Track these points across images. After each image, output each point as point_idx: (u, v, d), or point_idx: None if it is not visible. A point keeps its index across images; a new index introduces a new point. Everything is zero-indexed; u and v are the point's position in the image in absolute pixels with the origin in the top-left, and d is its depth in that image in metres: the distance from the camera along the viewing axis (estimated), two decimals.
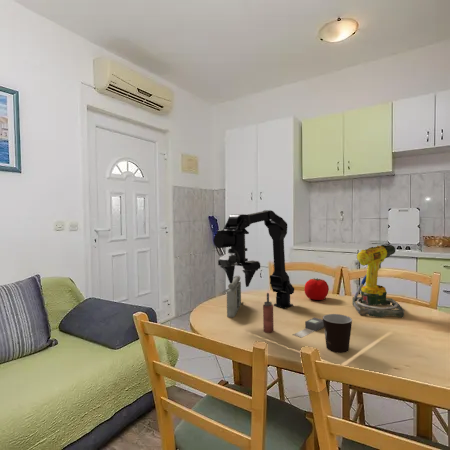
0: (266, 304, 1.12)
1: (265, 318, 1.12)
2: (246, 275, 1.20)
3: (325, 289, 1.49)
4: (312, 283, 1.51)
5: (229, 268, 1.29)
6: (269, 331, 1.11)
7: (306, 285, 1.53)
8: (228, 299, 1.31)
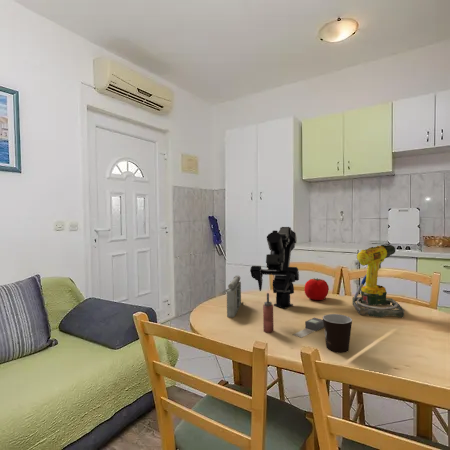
0: (266, 304, 1.12)
1: (265, 318, 1.12)
2: (287, 279, 1.20)
3: (325, 289, 1.49)
4: (312, 283, 1.51)
5: (261, 277, 1.25)
6: (269, 331, 1.11)
7: (306, 285, 1.53)
8: (228, 299, 1.31)
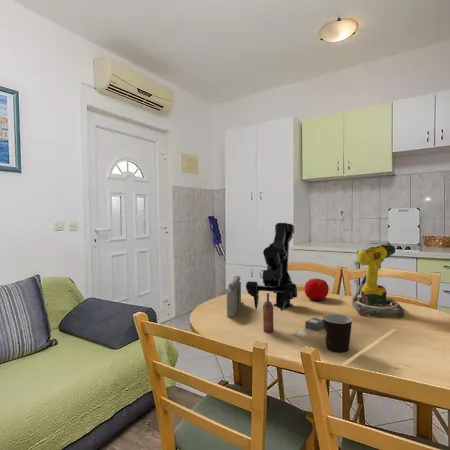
0: (266, 304, 1.12)
1: (265, 318, 1.12)
2: (285, 296, 1.14)
3: (325, 289, 1.49)
4: (312, 283, 1.51)
5: (257, 293, 1.19)
6: (269, 331, 1.11)
7: (306, 285, 1.53)
8: (228, 299, 1.31)
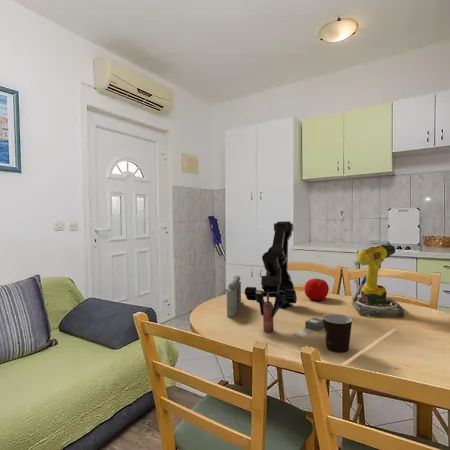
0: (266, 304, 1.12)
1: (265, 318, 1.12)
2: (277, 302, 1.13)
3: (325, 289, 1.49)
4: (312, 283, 1.51)
5: (263, 299, 1.16)
6: (269, 331, 1.11)
7: (306, 285, 1.53)
8: (228, 299, 1.31)
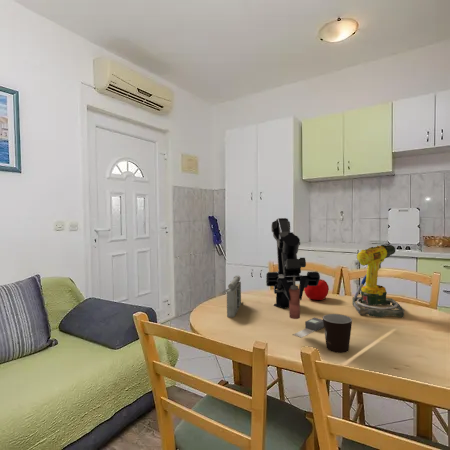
0: (293, 288, 1.09)
1: (293, 302, 1.08)
2: (302, 285, 1.10)
3: (325, 289, 1.49)
4: None
5: None
6: (297, 315, 1.08)
7: None
8: (228, 299, 1.31)
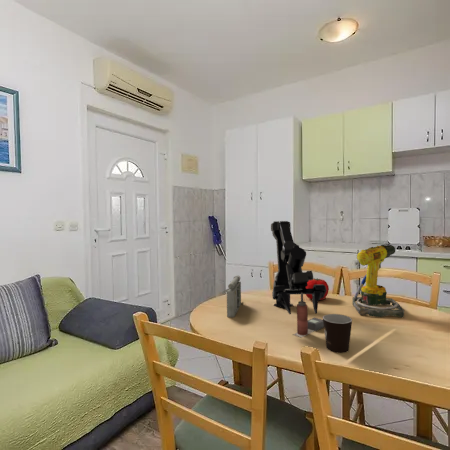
0: (302, 304, 1.09)
1: (301, 318, 1.08)
2: (317, 298, 1.11)
3: None
4: (312, 283, 1.51)
5: None
6: (305, 331, 1.08)
7: None
8: (228, 299, 1.31)
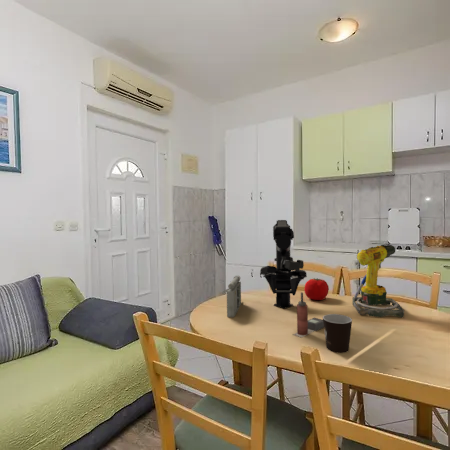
0: (302, 304, 1.08)
1: (301, 319, 1.08)
2: (297, 283, 1.26)
3: (325, 289, 1.49)
4: (312, 283, 1.51)
5: None
6: (305, 331, 1.08)
7: (306, 285, 1.53)
8: (228, 299, 1.31)
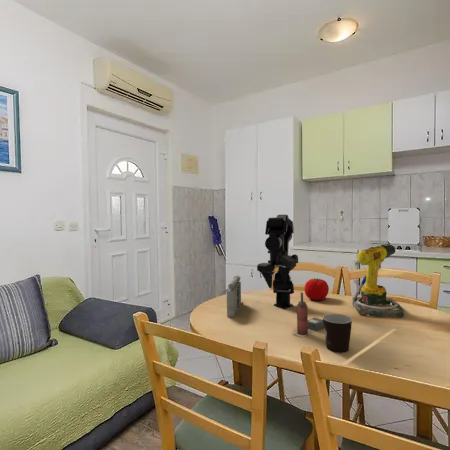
0: (302, 304, 1.08)
1: (301, 319, 1.08)
2: (288, 272, 1.32)
3: (325, 289, 1.49)
4: (312, 283, 1.51)
5: None
6: (305, 331, 1.08)
7: (306, 285, 1.53)
8: (228, 299, 1.31)
